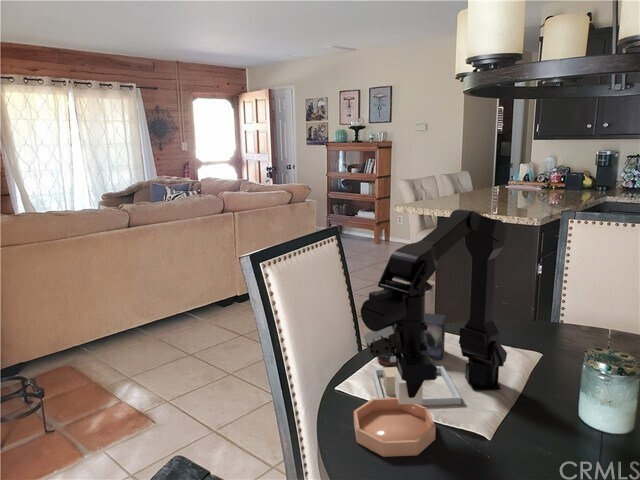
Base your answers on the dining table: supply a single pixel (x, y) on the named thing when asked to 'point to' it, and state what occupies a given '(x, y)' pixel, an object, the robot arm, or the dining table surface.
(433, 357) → the small box
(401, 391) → the pale stone
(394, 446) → the bowl
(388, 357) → the supplement bottle
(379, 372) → the tray
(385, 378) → the sand stone
